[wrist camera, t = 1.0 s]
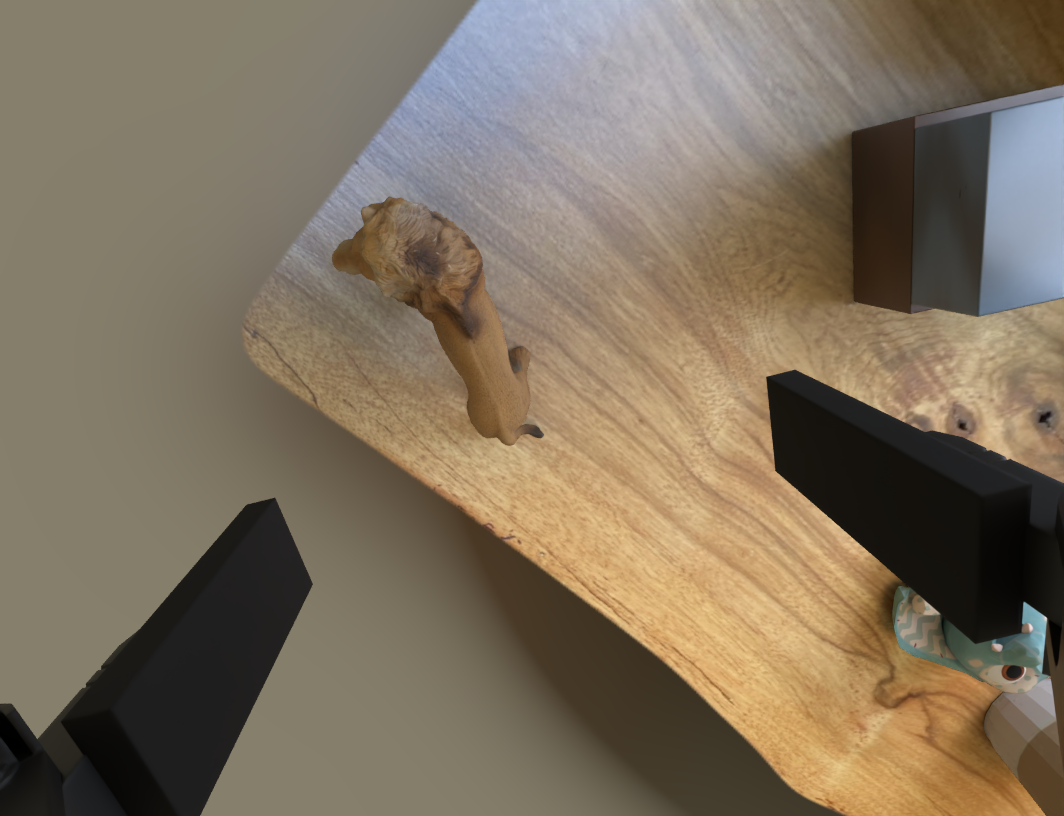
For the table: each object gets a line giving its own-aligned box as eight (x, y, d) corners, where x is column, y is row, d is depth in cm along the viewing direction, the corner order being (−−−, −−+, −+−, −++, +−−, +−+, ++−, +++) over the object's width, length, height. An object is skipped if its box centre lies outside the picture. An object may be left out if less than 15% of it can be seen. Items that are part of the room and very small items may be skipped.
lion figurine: (353, 236, 29) (295, 242, 20) (438, 179, 28) (416, 160, 20) (505, 454, 33) (511, 534, 25) (581, 408, 33) (614, 474, 24)
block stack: (852, 131, 29) (991, 96, 21) (1057, 87, 29) (1275, 35, 21) (853, 302, 32) (976, 329, 24) (1040, 261, 32) (1225, 274, 24)
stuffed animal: (1057, 515, 31) (1170, 668, 32) (965, 477, 38) (1060, 603, 39) (891, 625, 33) (1005, 766, 34) (832, 569, 40) (928, 687, 41)
